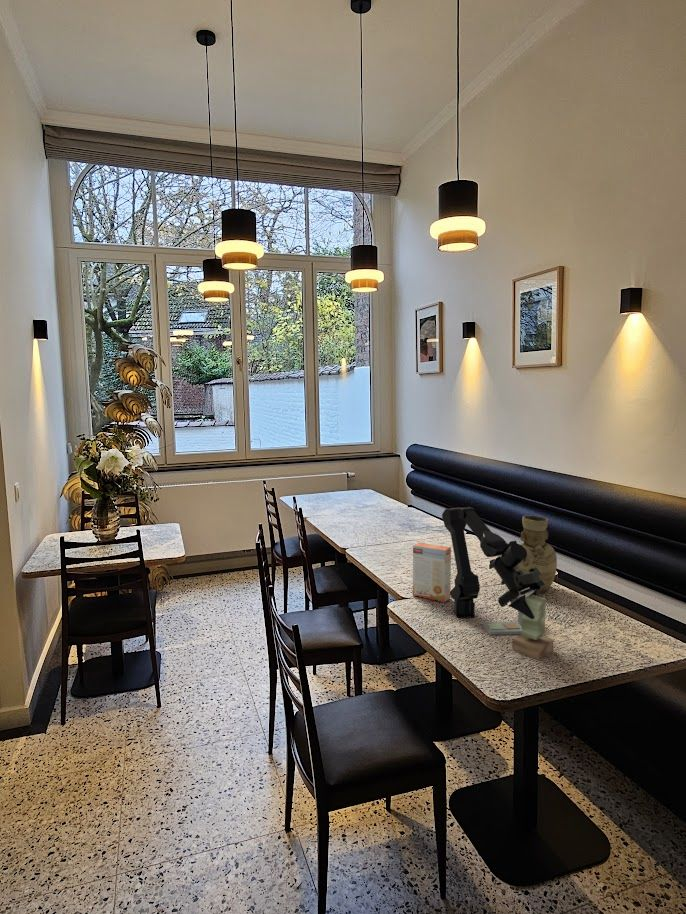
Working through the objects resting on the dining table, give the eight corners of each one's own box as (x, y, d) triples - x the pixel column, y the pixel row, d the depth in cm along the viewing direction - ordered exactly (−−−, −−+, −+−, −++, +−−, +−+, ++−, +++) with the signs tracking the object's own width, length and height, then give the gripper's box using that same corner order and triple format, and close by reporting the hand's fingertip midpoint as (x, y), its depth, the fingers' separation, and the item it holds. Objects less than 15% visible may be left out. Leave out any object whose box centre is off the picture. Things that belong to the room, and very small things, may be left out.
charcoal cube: (523, 628, 202) (524, 613, 201) (517, 622, 207) (518, 607, 206) (539, 628, 202) (539, 613, 201) (533, 621, 207) (533, 607, 207)
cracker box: (450, 598, 230) (452, 546, 227) (444, 603, 225) (445, 550, 222) (418, 591, 238) (419, 541, 235) (411, 596, 233) (412, 544, 230)
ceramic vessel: (502, 578, 254) (504, 510, 250) (554, 582, 248) (557, 513, 244) (501, 593, 236) (503, 520, 232) (557, 598, 229) (560, 523, 226)
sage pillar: (535, 640, 181) (537, 602, 180) (521, 634, 185) (523, 598, 183) (544, 635, 184) (546, 598, 183) (530, 630, 188) (531, 594, 187)
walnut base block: (537, 660, 179) (538, 648, 178) (512, 650, 186) (512, 638, 185) (553, 651, 185) (553, 639, 184) (527, 642, 192) (528, 630, 191)
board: (489, 634, 196) (489, 631, 196) (482, 625, 204) (482, 621, 204) (524, 633, 197) (524, 630, 197) (516, 624, 205) (516, 620, 205)
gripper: (507, 566, 179) (538, 611, 172) (540, 554, 191) (571, 596, 184) (485, 584, 186) (514, 629, 179) (518, 572, 198) (547, 613, 191)
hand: (537, 616), depth 183 cm, fingers closed on sage pillar, 5 cm apart
